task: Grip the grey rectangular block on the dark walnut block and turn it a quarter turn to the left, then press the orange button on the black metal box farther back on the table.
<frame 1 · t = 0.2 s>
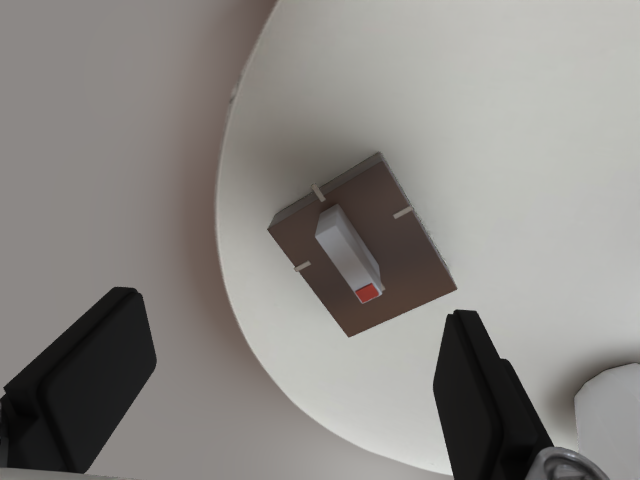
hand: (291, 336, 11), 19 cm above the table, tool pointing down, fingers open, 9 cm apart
vase: (618, 394, 36), on the table
grey rectangular block: (349, 253, 26), point 5 cm above the table, hinge at 0.0°
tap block: (362, 243, 31), on the table
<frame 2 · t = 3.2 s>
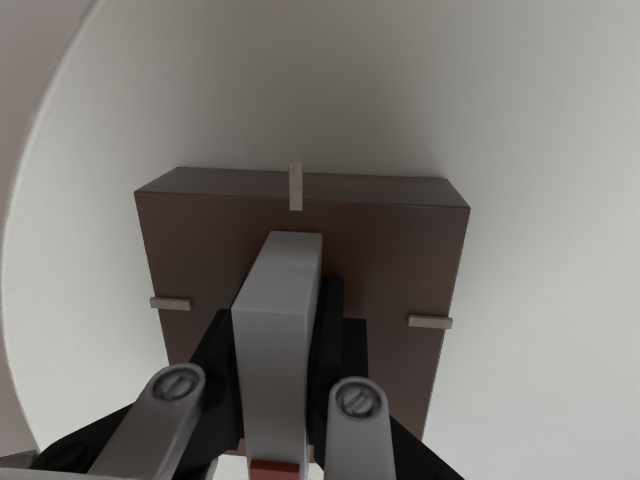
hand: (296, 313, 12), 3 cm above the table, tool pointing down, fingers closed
grey rectangular block: (286, 356, 10), point 5 cm above the table, hinge at 0.0°
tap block: (307, 307, 16), on the table
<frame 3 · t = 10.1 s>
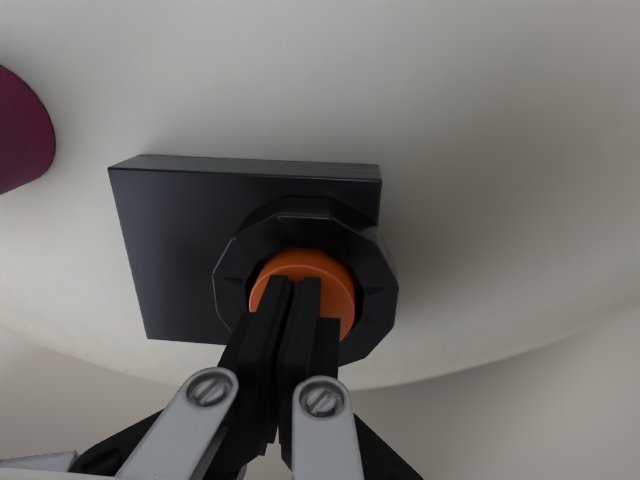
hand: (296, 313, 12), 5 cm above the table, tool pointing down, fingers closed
button: (304, 297, 13), point 4 cm above the table, slide at -0.6 cm, touching gripper
button box: (260, 246, 17), on the table
cup: (0, 124, 15), on the table
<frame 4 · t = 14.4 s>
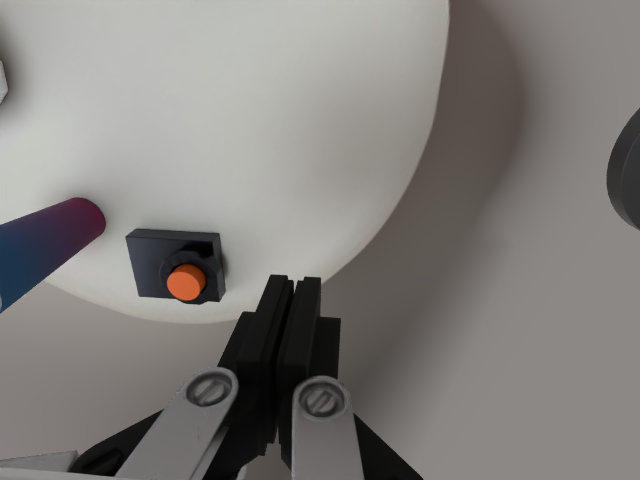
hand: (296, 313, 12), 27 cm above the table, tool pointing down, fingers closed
button: (186, 282, 40), point 4 cm above the table, slide at 0.1 cm
button box: (182, 261, 44), on the table
cup: (85, 217, 43), on the table
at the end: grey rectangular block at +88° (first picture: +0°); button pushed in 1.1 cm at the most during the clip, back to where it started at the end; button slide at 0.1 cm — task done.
